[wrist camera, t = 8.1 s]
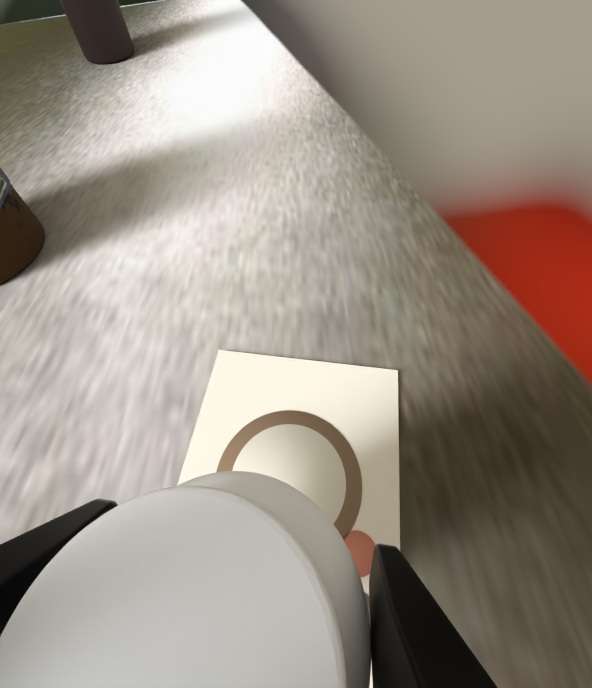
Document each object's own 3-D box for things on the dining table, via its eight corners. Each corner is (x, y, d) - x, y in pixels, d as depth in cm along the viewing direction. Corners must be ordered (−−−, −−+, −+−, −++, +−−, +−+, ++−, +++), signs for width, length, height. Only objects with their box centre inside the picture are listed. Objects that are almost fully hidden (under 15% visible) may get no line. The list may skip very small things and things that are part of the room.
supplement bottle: (155, 593, 12) (-198, 691, 4) (265, 474, 14) (201, 359, 6) (261, 749, 10) (17, 1807, 2) (372, 583, 12) (523, 660, 4)
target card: (399, 693, 13) (402, 697, 13) (133, 637, 14) (128, 640, 14) (396, 373, 20) (398, 369, 20) (220, 353, 21) (218, 349, 21)
